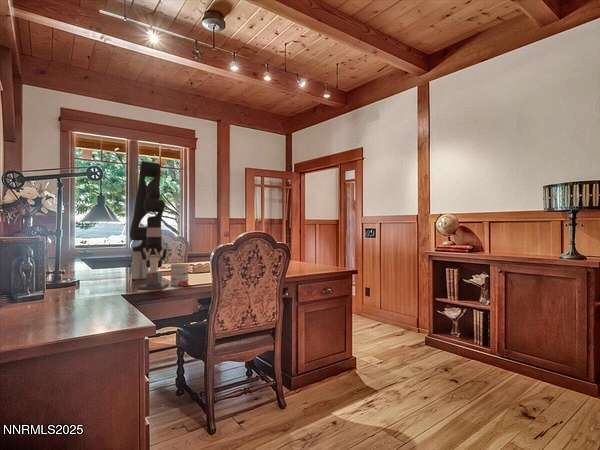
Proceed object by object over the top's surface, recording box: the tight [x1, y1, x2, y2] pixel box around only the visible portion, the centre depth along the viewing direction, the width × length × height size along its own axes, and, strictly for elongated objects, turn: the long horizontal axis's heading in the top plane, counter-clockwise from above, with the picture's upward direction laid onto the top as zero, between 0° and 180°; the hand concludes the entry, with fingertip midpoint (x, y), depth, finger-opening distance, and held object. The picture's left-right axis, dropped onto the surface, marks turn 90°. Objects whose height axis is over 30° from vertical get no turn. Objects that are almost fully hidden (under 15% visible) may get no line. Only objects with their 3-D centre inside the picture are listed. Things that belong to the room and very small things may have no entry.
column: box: [149, 255, 159, 273], centre depth 186 cm, size 4×4×16 cm
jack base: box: [137, 271, 169, 291], centre depth 186 cm, size 12×12×8 cm
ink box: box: [170, 263, 189, 286], centre depth 196 cm, size 9×5×12 cm, turn 84°
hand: (153, 267), depth 186 cm, fingers open, 5 cm apart
